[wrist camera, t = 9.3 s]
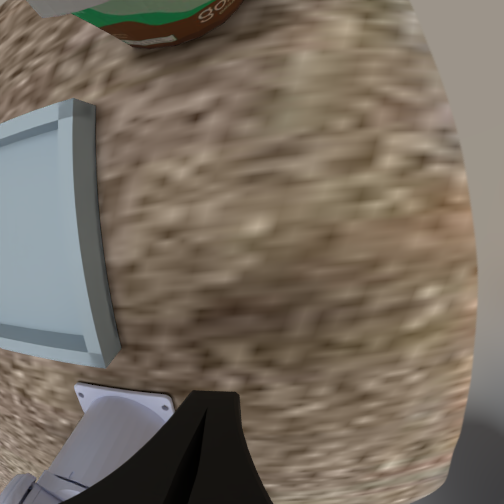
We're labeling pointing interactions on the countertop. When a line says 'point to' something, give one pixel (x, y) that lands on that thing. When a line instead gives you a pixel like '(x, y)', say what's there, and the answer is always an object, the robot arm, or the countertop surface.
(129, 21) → the food container
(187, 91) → the countertop surface
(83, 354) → the open box
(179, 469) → the robot arm
